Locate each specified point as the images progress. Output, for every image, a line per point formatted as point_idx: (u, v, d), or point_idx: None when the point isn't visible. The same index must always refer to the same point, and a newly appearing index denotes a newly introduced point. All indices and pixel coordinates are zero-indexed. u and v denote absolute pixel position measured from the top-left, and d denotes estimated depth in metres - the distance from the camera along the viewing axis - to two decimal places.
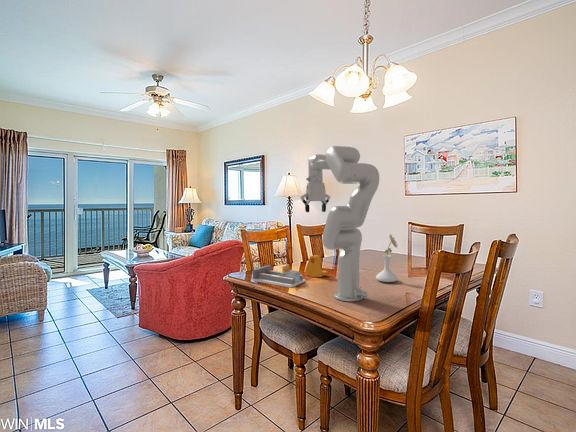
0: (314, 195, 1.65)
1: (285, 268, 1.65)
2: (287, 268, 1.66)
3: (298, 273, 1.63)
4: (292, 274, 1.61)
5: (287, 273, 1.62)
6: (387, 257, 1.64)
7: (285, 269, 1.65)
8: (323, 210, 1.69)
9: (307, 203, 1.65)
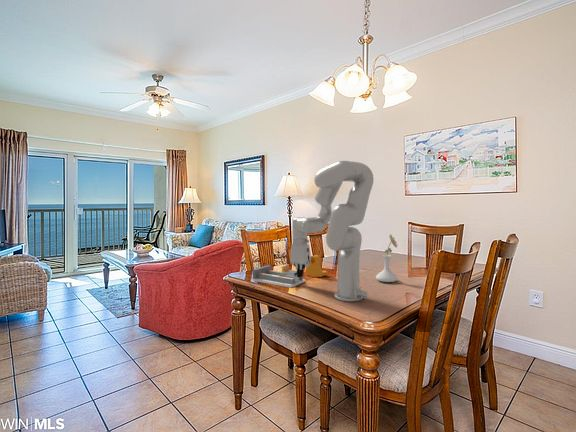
0: None
1: (285, 268, 1.65)
2: (287, 268, 1.67)
3: None
4: (291, 274, 1.61)
5: (286, 273, 1.63)
6: (387, 257, 1.64)
7: (285, 269, 1.65)
8: None
9: None
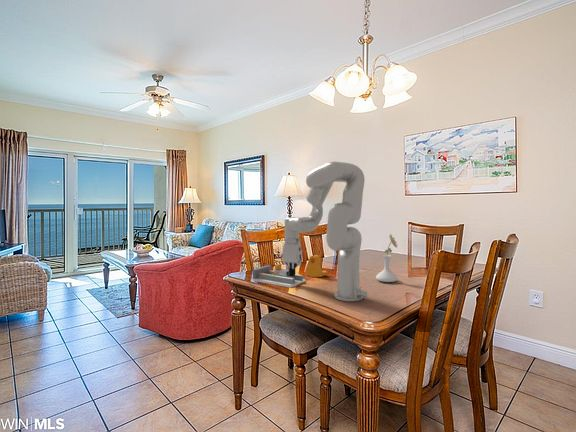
0: None
1: (277, 267, 1.68)
2: (279, 267, 1.69)
3: None
4: (284, 273, 1.64)
5: (279, 272, 1.65)
6: (387, 257, 1.64)
7: (277, 268, 1.68)
8: None
9: None
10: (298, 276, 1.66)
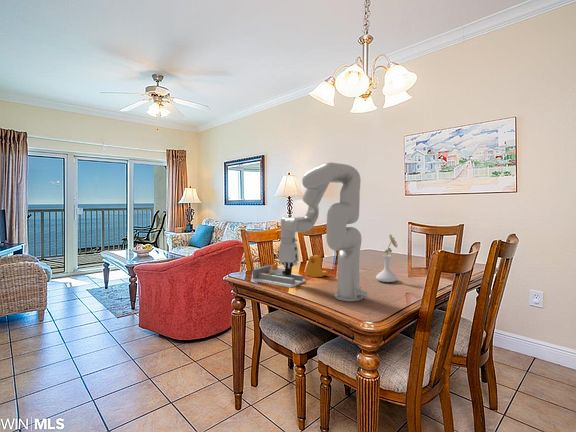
0: None
1: (273, 266, 1.69)
2: (275, 266, 1.71)
3: None
4: (280, 272, 1.65)
5: (275, 271, 1.67)
6: (387, 257, 1.64)
7: (273, 267, 1.69)
8: None
9: None
10: (298, 276, 1.66)
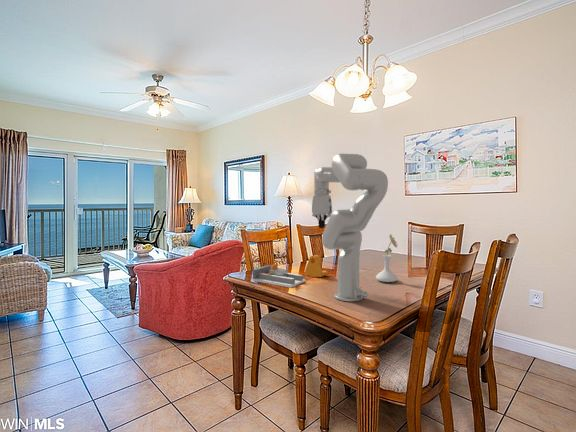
0: None
1: (273, 266, 1.69)
2: (275, 266, 1.71)
3: (286, 271, 1.67)
4: (280, 272, 1.65)
5: (275, 271, 1.67)
6: (387, 257, 1.64)
7: (273, 267, 1.69)
8: None
9: None
10: (298, 276, 1.66)
